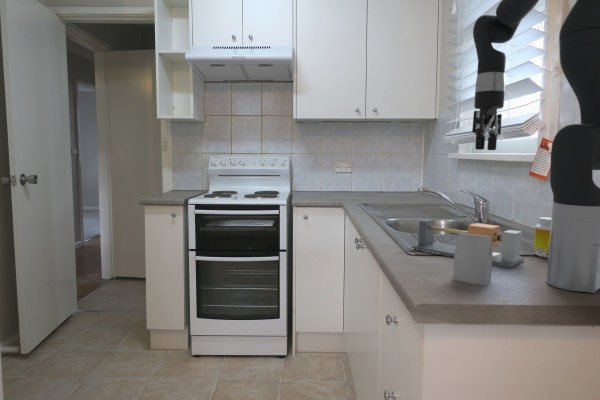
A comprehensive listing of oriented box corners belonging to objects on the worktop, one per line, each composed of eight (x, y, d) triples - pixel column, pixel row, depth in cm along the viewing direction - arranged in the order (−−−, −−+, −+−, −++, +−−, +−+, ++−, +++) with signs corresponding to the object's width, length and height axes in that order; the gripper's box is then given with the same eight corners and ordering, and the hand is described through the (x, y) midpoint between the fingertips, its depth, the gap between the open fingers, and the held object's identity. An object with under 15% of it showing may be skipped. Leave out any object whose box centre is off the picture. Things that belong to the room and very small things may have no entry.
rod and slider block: (523, 261, 112) (525, 230, 111) (509, 268, 105) (511, 235, 104) (429, 244, 130) (430, 217, 129) (412, 249, 122) (413, 221, 122)
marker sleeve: (498, 245, 113) (499, 226, 113) (490, 248, 110) (492, 228, 109) (475, 242, 118) (476, 223, 117) (467, 244, 114) (468, 225, 113)
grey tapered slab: (485, 285, 90) (489, 238, 89) (453, 279, 94) (455, 233, 93) (490, 281, 93) (493, 235, 92) (458, 275, 97) (461, 231, 96)
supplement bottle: (549, 259, 114) (553, 220, 113) (529, 254, 119) (531, 217, 118) (560, 256, 117) (564, 219, 116) (539, 252, 122) (542, 216, 121)
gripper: (493, 86, 114) (489, 149, 116) (512, 92, 124) (508, 150, 126) (465, 89, 119) (461, 149, 121) (486, 94, 129) (482, 150, 131)
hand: (485, 149), depth 123 cm, fingers open, 8 cm apart
